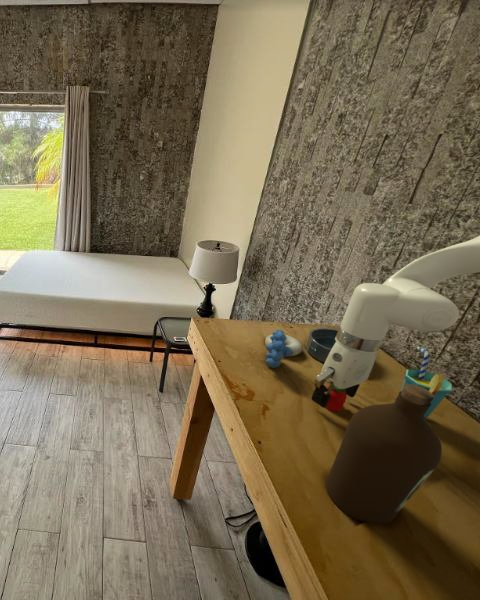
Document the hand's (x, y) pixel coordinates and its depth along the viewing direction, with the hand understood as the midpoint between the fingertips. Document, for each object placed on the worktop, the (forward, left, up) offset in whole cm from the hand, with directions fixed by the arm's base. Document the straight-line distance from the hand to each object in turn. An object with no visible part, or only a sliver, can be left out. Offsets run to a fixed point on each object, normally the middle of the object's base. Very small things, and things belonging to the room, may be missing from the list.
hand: (332, 398), depth 77 cm
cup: (-14, +8, -2) cm, 16 cm away
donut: (-10, -22, -2) cm, 24 cm away
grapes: (0, -16, -2) cm, 16 cm away
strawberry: (0, 0, -2) cm, 2 cm away
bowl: (-22, -14, -2) cm, 26 cm away
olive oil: (+19, +18, -2) cm, 26 cm away
